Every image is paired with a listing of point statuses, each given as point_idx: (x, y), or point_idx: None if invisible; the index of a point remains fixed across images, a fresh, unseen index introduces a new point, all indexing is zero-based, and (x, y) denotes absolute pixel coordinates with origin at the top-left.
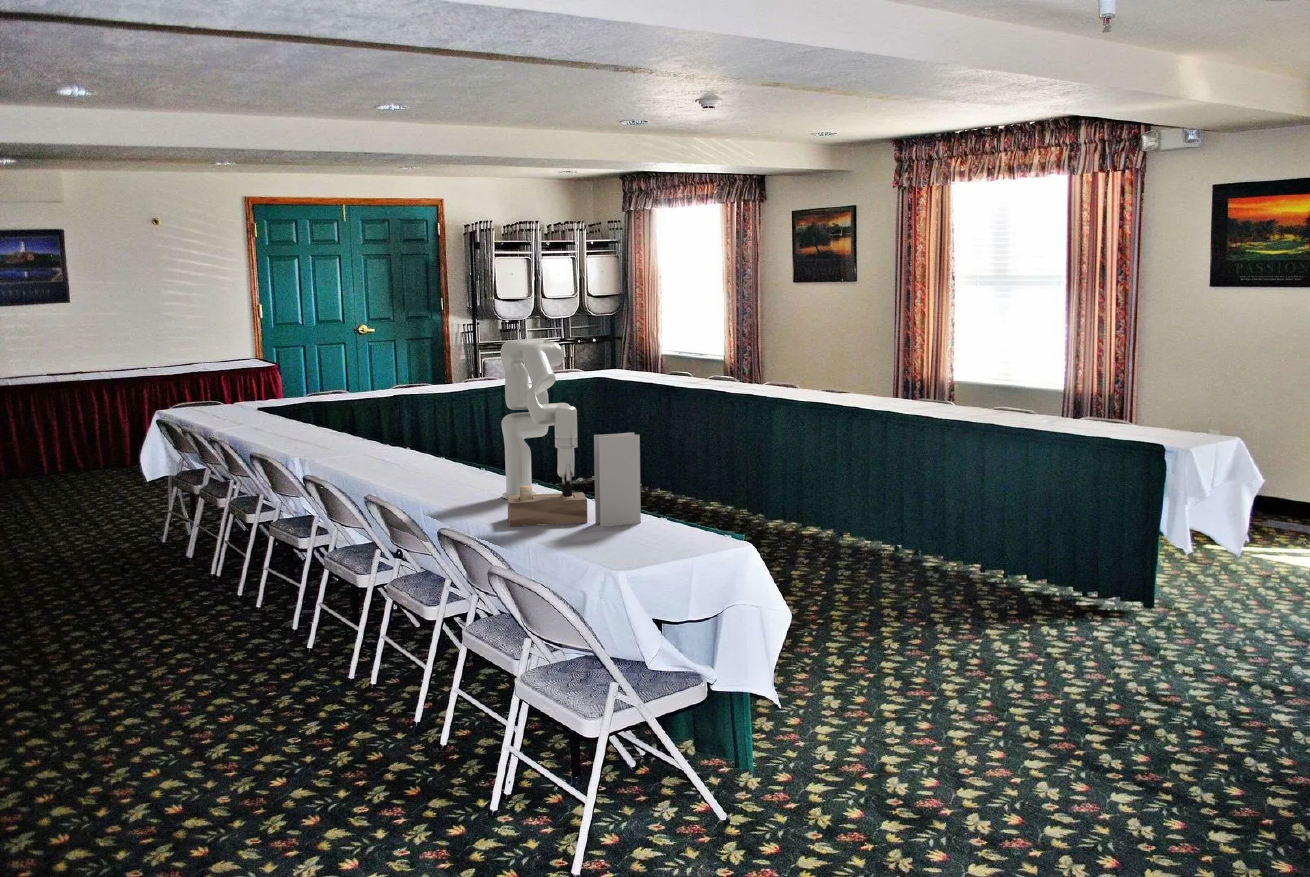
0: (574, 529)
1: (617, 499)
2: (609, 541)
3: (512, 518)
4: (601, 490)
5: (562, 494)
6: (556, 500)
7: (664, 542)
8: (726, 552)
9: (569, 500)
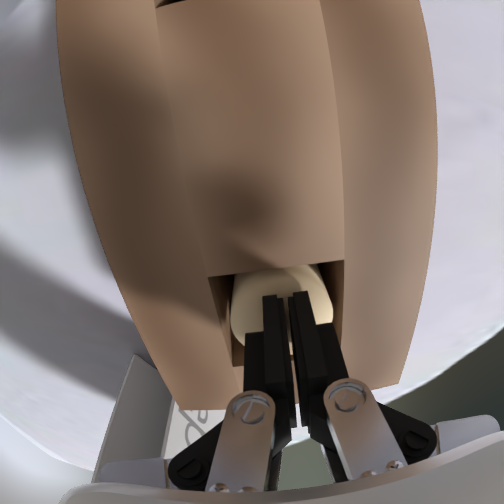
0: (76, 270)
1: None
2: (4, 347)
3: None
4: (97, 481)
5: (294, 297)
6: (112, 242)
7: (48, 420)
8: (42, 447)
9: (140, 332)
